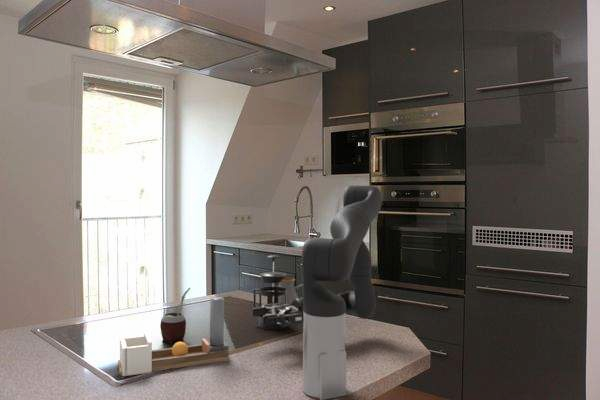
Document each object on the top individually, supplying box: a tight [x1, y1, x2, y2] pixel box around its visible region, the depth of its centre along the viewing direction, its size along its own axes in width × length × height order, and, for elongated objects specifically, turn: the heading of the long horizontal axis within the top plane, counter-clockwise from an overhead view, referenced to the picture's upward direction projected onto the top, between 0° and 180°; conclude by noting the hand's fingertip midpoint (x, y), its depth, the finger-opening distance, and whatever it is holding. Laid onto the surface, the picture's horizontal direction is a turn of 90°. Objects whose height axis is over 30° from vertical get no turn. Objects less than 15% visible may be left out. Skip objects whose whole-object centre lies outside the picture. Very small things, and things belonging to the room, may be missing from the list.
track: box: [117, 343, 229, 377], centre depth 118 cm, size 8×26×2 cm, turn 115°
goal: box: [119, 331, 153, 377], centre depth 114 cm, size 9×6×7 cm
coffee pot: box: [278, 277, 303, 306], centre depth 166 cm, size 21×12×15 cm, turn 89°
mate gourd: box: [159, 287, 191, 347], centre depth 135 cm, size 8×8×15 cm
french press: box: [253, 254, 288, 331], centre depth 153 cm, size 12×9×23 cm
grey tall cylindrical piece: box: [201, 296, 230, 354], centre depth 122 cm, size 6×6×14 cm
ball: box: [171, 341, 189, 356], centre depth 119 cm, size 4×4×4 cm
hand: (257, 316), depth 127 cm, fingers open, 8 cm apart
